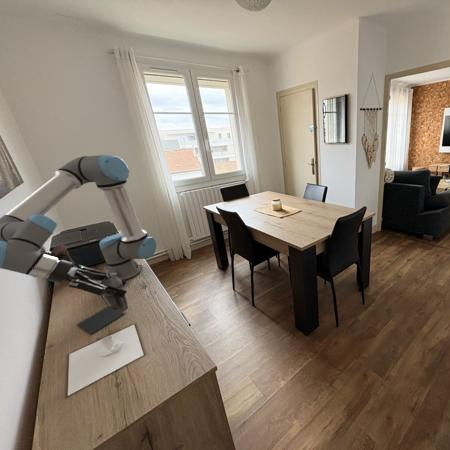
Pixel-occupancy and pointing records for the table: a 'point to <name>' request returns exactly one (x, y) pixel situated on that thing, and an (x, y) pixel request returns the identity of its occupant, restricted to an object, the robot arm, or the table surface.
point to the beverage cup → (114, 301)
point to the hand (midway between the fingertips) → (124, 289)
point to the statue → (62, 254)
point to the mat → (99, 320)
